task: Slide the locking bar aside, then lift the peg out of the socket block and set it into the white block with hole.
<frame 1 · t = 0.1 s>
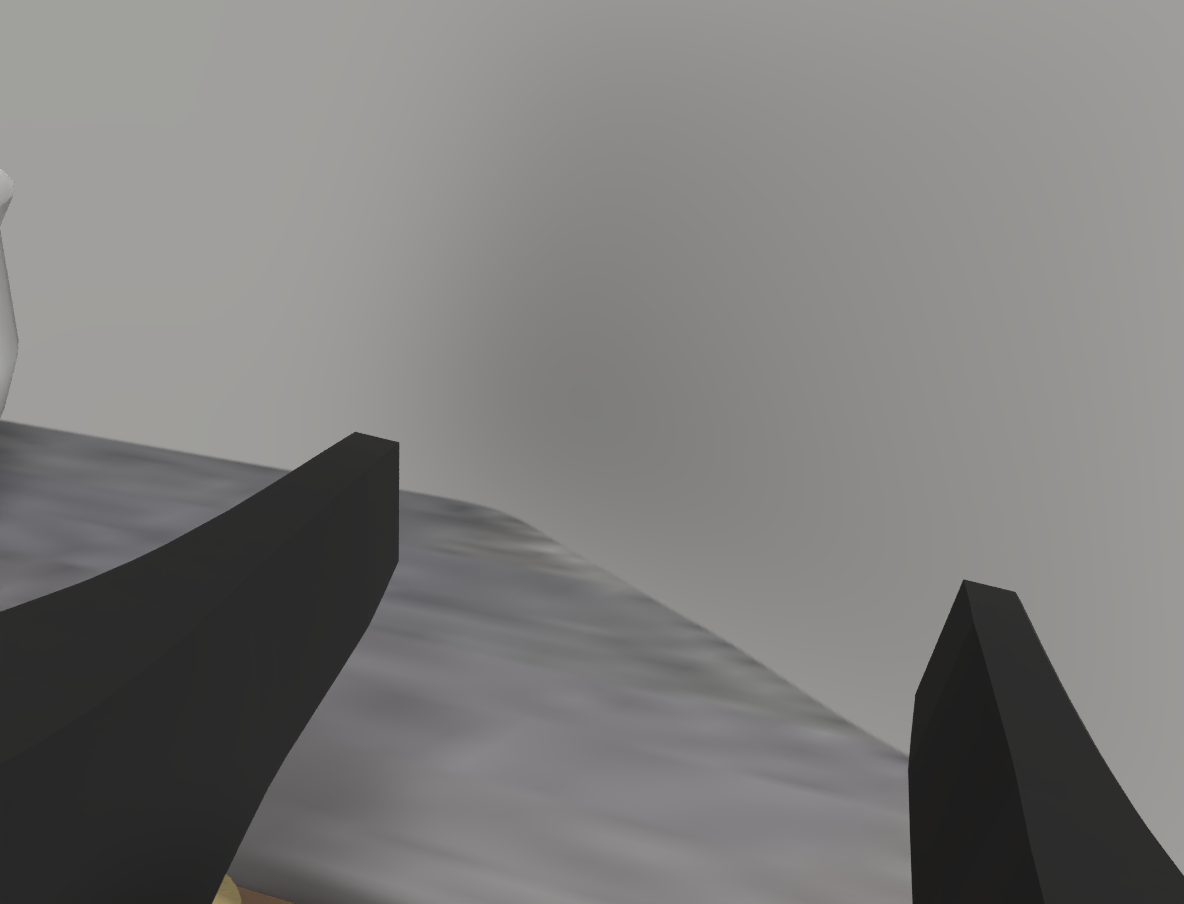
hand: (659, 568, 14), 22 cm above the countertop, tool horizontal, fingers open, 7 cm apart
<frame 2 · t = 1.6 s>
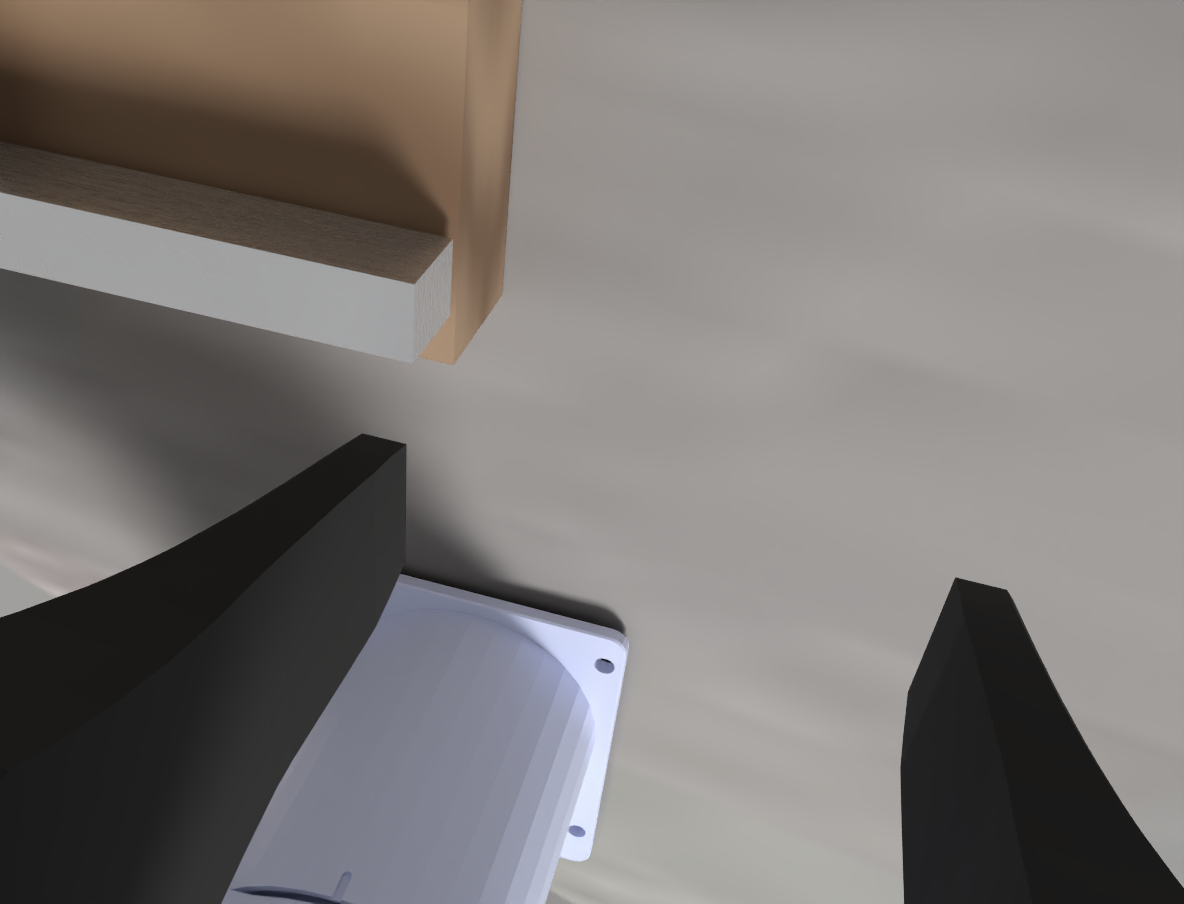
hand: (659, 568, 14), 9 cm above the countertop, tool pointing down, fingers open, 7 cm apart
locking bar: (123, 128, 18), point 4 cm above the countertop, slide at 0.0 cm
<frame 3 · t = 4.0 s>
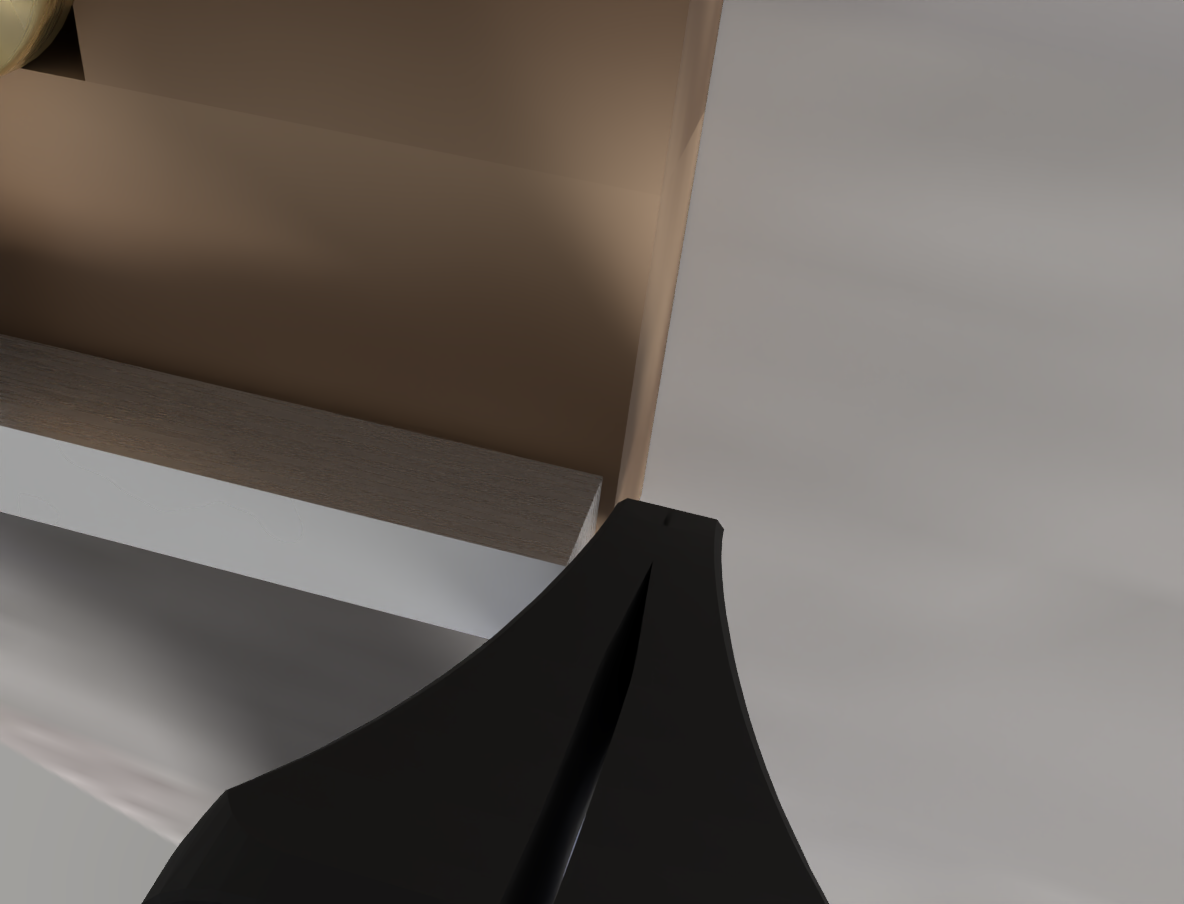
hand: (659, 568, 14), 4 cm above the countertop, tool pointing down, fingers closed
locking bar: (160, 340, 14), point 4 cm above the countertop, slide at 0.2 cm, touching gripper
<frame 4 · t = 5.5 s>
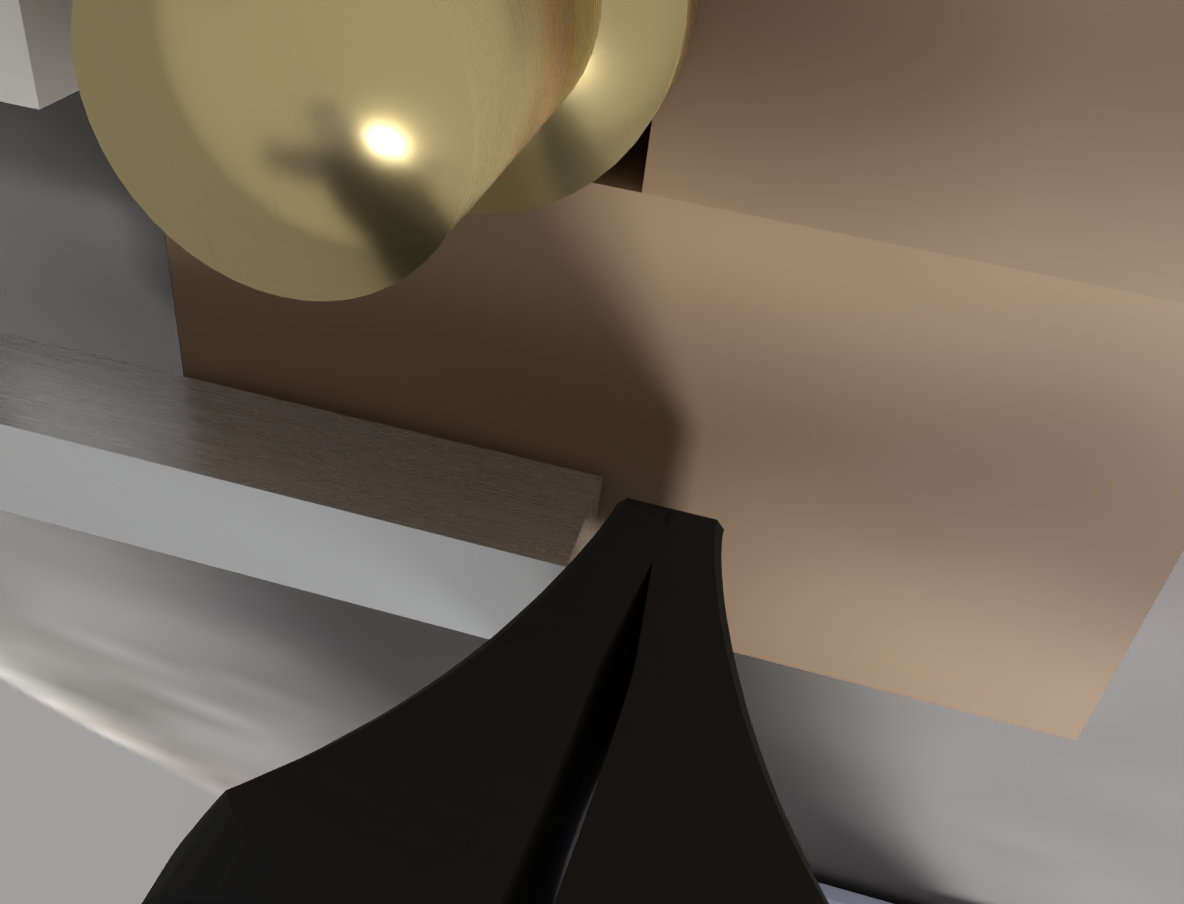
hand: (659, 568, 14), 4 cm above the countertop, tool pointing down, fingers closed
locking bar: (160, 339, 14), point 4 cm above the countertop, slide at 6.9 cm, touching gripper
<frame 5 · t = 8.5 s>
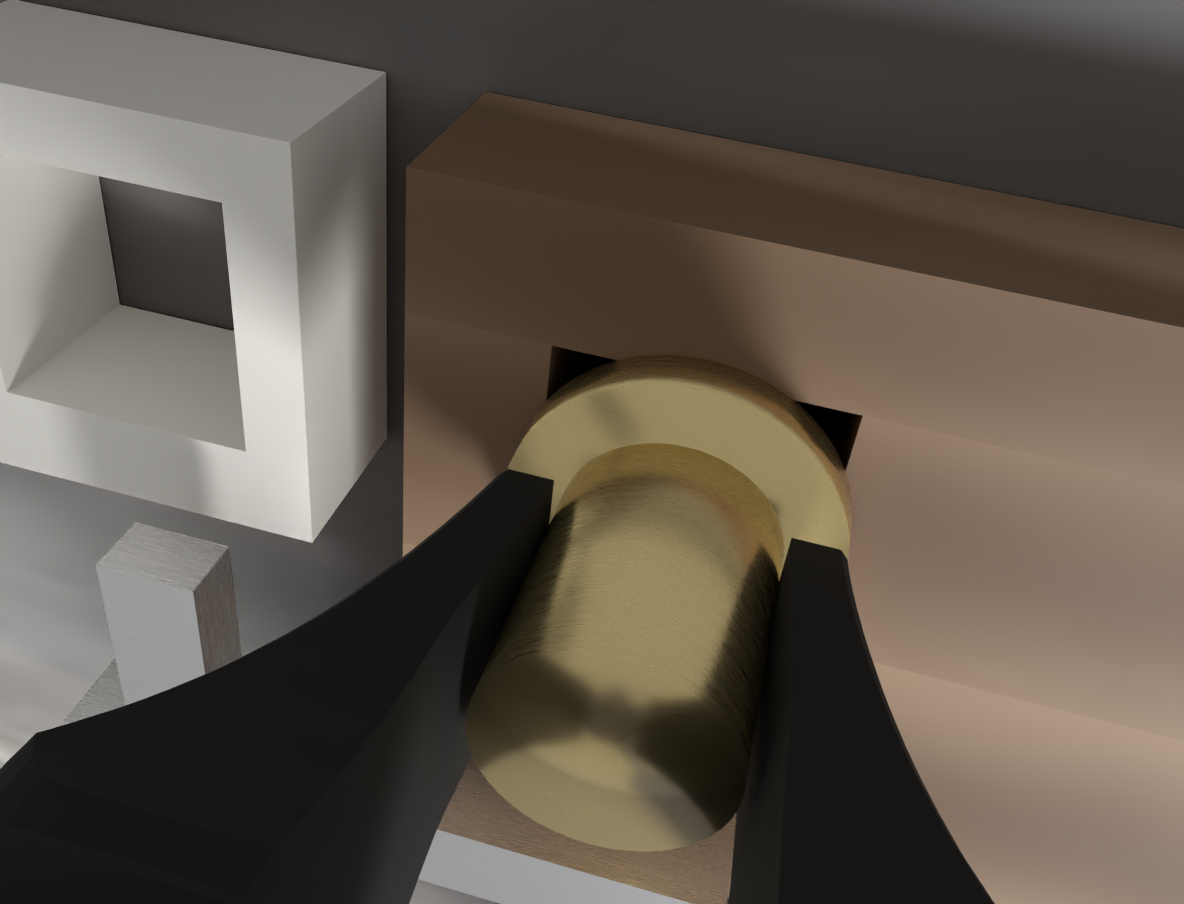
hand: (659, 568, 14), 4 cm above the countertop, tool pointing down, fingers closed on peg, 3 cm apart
locking bar: (402, 720, 17), point 4 cm above the countertop, slide at 7.0 cm
white block with hole: (213, 222, 18), on the countertop
peg: (679, 502, 15), point 3 cm above the countertop, touching gripper, socket block
socket block: (713, 389, 18), on the countertop
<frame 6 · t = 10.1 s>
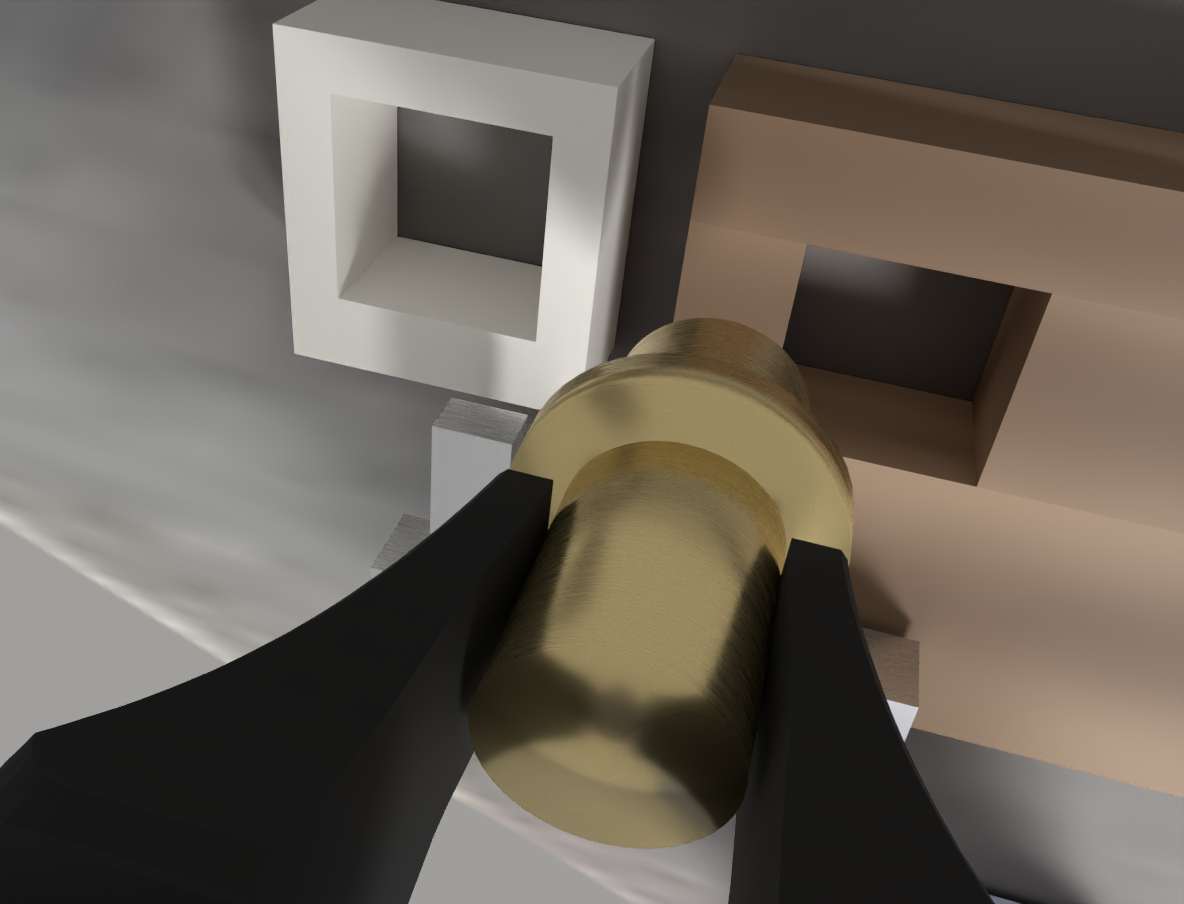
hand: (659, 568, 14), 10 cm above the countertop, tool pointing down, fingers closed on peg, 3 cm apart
locking bar: (652, 561, 22), point 4 cm above the countertop, slide at 7.0 cm
white block with hole: (490, 165, 22), on the countertop
peg: (681, 500, 15), point 9 cm above the countertop, touching gripper
socket block: (899, 295, 22), on the countertop
when the fingers open (6 cm above the countertop, at t = 11.8 s): peg drops 1 cm, resting on white block with hole.
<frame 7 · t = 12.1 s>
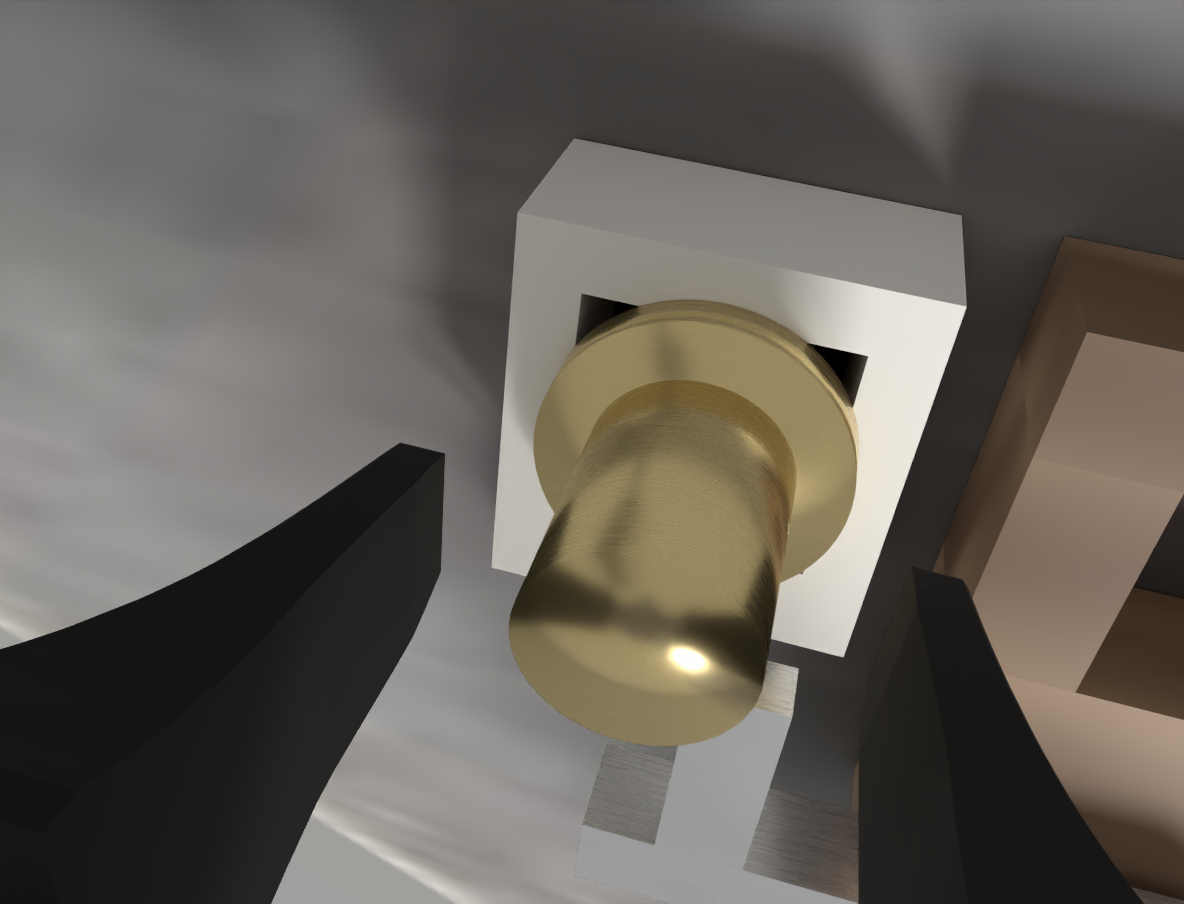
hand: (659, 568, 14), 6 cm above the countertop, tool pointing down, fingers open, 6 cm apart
locking bar: (929, 828, 18), point 4 cm above the countertop, slide at 7.0 cm
white block with hole: (727, 344, 19), on the countertop
peg: (698, 440, 16), point 3 cm above the countertop, touching white block with hole
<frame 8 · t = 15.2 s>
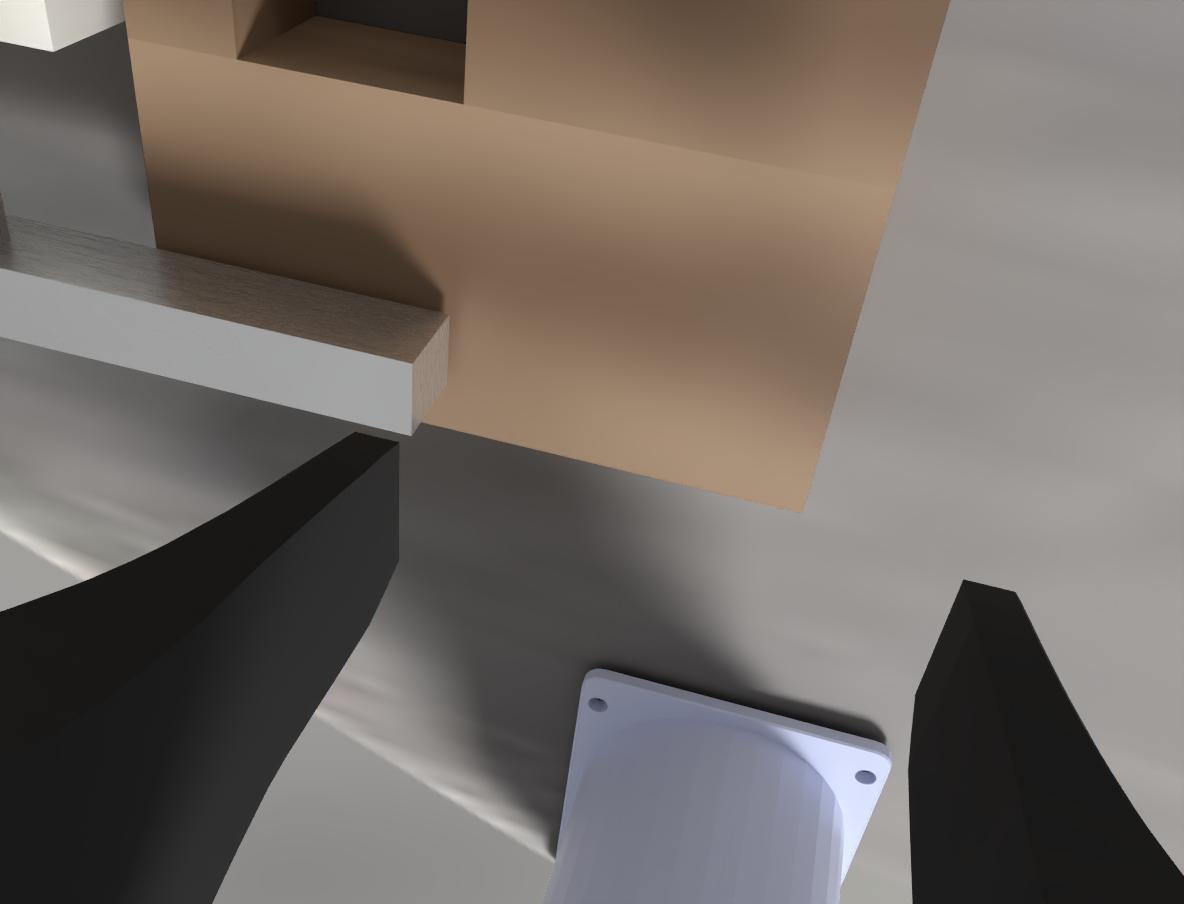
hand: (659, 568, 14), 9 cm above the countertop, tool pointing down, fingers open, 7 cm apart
locking bar: (134, 212, 19), point 4 cm above the countertop, slide at 7.0 cm
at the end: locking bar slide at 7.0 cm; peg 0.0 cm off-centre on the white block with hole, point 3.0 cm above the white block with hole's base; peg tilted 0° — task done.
